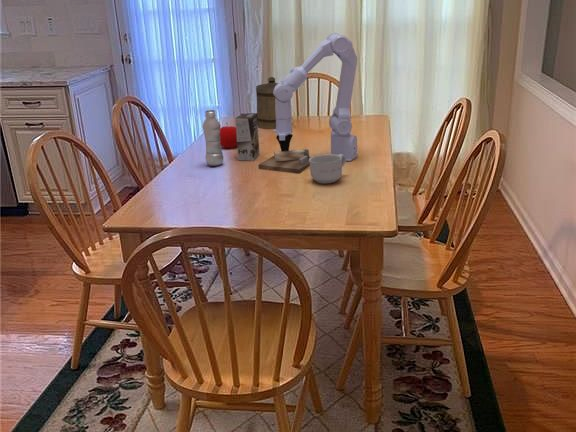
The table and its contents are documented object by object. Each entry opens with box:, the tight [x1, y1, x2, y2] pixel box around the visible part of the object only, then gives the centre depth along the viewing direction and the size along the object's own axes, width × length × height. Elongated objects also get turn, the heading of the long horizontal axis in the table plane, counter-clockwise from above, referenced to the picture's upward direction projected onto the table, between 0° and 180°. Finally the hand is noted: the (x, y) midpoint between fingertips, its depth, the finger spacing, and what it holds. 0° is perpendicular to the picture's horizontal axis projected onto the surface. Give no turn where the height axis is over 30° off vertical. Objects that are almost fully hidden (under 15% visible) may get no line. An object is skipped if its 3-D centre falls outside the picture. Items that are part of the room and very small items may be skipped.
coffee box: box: [235, 112, 261, 162], centre depth 214 cm, size 9×6×16 cm
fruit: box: [220, 122, 237, 149], centre depth 230 cm, size 9×9×10 cm
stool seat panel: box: [258, 155, 312, 174], centre depth 205 cm, size 16×15×4 cm
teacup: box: [309, 153, 347, 184], centre depth 188 cm, size 14×11×8 cm
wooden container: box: [255, 76, 281, 130], centre depth 260 cm, size 15×15×22 cm
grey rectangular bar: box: [273, 148, 310, 161], centre depth 206 cm, size 12×3×3 cm, turn 101°
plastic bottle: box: [202, 109, 224, 167], centre depth 206 cm, size 6×7×20 cm
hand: (285, 154), depth 208 cm, fingers closed
